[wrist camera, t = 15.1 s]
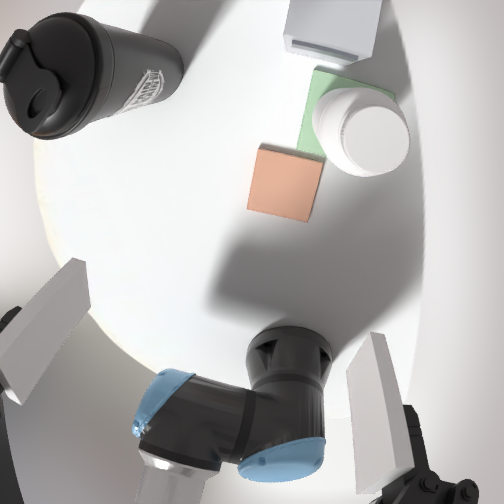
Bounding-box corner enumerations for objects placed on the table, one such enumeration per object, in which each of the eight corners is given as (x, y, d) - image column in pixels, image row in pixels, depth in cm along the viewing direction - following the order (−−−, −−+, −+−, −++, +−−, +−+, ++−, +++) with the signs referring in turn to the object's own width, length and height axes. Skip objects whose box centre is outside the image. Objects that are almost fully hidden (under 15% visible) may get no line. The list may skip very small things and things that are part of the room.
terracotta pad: (307, 219, 41) (307, 222, 41) (247, 206, 41) (246, 209, 41) (322, 162, 37) (323, 163, 36) (258, 148, 37) (257, 149, 37)
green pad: (373, 168, 37) (374, 169, 36) (296, 148, 37) (296, 149, 36) (393, 93, 32) (395, 93, 31) (313, 70, 32) (313, 69, 31)
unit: (344, 69, 31) (370, 60, 20) (285, 55, 31) (282, 38, 20) (358, -1, 26) (387, -36, 15) (299, -15, 26) (302, -59, 15)
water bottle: (148, 125, 37) (22, 180, 17) (104, 74, 34) (-34, 94, 14) (206, 72, 33) (101, 66, 13) (157, 20, 30) (29, -16, 10)
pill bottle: (377, 89, 31) (427, 94, 18) (375, 153, 35) (420, 195, 22) (309, 86, 32) (322, 84, 19) (311, 152, 36) (323, 192, 23)
